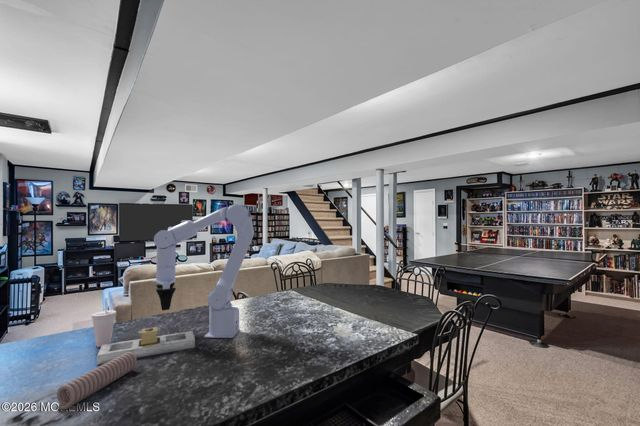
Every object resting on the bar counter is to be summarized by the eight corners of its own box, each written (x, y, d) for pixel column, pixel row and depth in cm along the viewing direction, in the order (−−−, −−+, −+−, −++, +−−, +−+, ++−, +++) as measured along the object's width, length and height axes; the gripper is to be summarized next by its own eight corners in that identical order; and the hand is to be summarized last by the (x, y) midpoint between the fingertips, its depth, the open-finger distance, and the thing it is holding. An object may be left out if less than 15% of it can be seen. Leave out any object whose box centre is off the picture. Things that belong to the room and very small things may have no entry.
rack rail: (192, 338, 99) (192, 330, 99) (194, 347, 92) (194, 338, 92) (102, 353, 88) (102, 344, 88) (97, 364, 81) (97, 355, 81)
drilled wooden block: (159, 346, 93) (160, 325, 93) (159, 351, 89) (160, 329, 89) (138, 350, 90) (138, 329, 90) (137, 355, 87) (137, 333, 87)
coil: (123, 351, 79) (50, 387, 62) (139, 350, 78) (70, 386, 61) (124, 369, 79) (52, 411, 61) (140, 368, 78) (71, 411, 60)
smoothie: (120, 342, 96) (121, 297, 96) (98, 350, 90) (99, 302, 91) (107, 339, 99) (108, 295, 99) (85, 346, 93) (86, 300, 93)
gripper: (152, 264, 107) (152, 303, 107) (152, 269, 94) (151, 314, 94) (175, 263, 111) (174, 301, 110) (177, 268, 98) (176, 311, 97)
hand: (165, 307), depth 102 cm, fingers open, 7 cm apart
